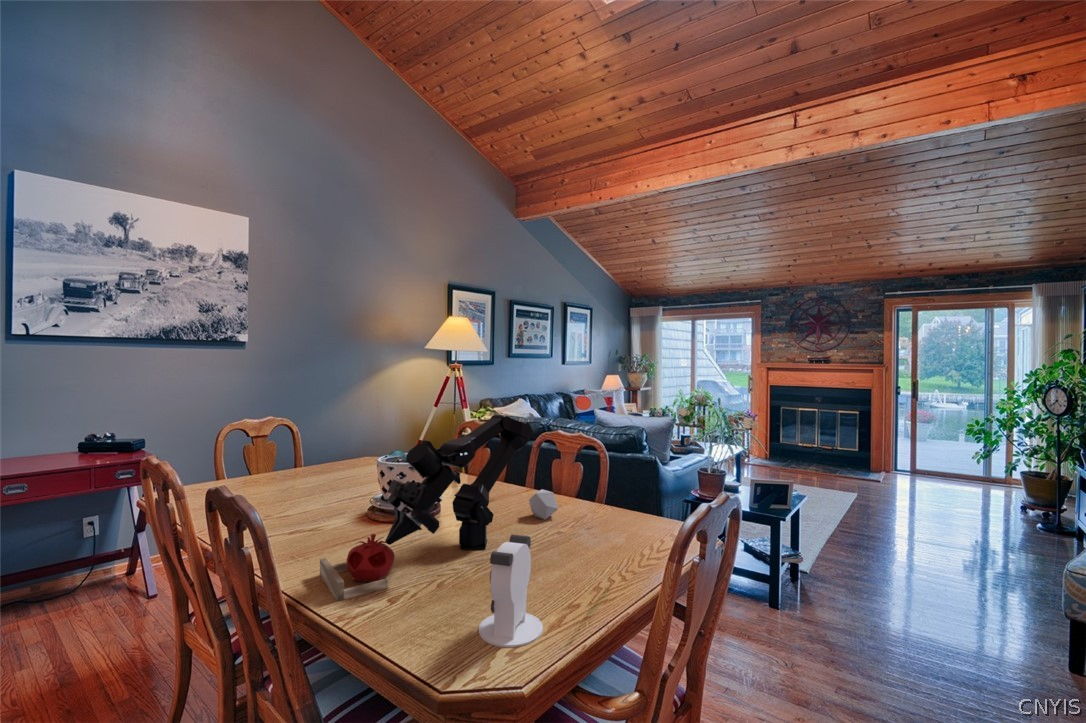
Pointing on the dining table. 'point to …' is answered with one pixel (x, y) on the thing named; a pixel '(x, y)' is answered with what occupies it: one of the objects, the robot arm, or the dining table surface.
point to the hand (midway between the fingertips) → (386, 543)
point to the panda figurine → (510, 597)
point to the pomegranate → (370, 560)
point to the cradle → (337, 583)
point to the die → (543, 504)
